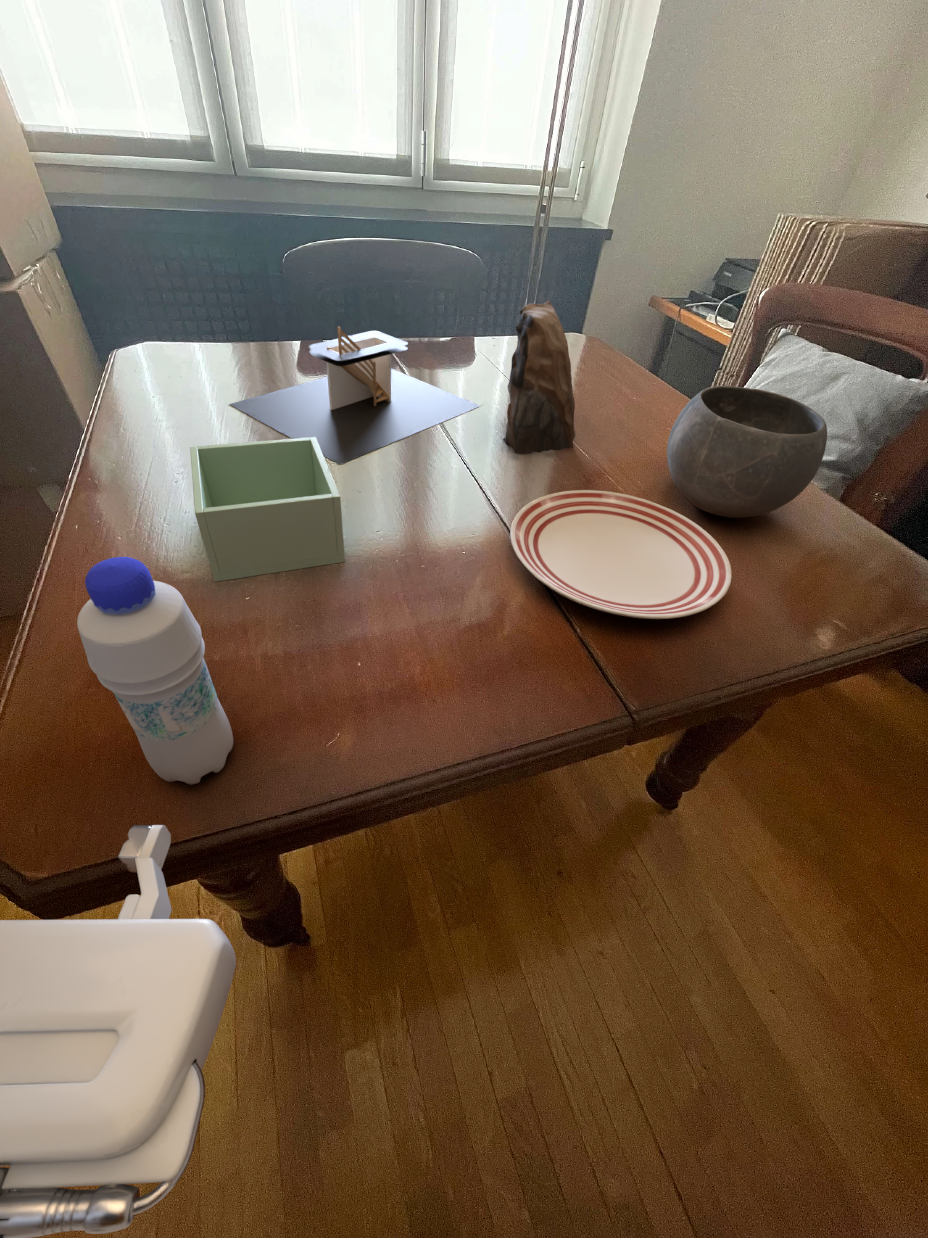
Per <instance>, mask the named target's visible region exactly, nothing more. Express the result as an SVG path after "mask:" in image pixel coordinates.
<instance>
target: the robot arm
mask: <svg viewBox="0 0 928 1238" xmlns="http://www.w3.org/2000/svg"><path fill="white" fill-rule="evenodd" d="M127 837H128V839H127V840H126V841H125V842H124V843H122V847H121V849H120V851H119V854H118V856H117V857H118V859H119V860H120V862H121V863H122V864H125V868H126V869H127V870H128V871H129V873H137V878H138V883H139V888H140V889H139V890H140V895H139V894H135V893H134V894H128V895H127V896H126V897H125V899H124V902H123V904H122V907H121V909H120V912H119V913H118V917H117V918H113V919H112V918H111V919H109V918H108V919H107V918H105V919H104V918H103V919H101V918H99V919H90V918H89V919H88V918H87V919H85V918H84V919H0V1238H37V1237H43V1236H48V1235H53V1234H55V1233H56V1234H58V1233H63V1232H71V1231H73V1232H78V1231H79V1232H81V1231H84V1233H85V1234H92V1235H94V1234H95V1235H101V1234H102V1235H103V1234H109V1233H114V1232H119V1231H121V1230H124V1229H127V1228H128V1227H130V1225H131V1223H132V1222H133V1221H134V1218H135V1215H137V1214H141V1213H143V1212H146V1211H148V1210H150V1209H151V1208H152V1207H153V1206H155V1205H156V1204H158V1203H159V1202H161V1201H162V1200H163V1199H164V1198H165V1197H166V1196H167V1195H168V1194H169V1193H170V1192H171V1191H172V1190H173V1189H174V1187H175V1186H176V1184H177V1183H178V1182H179V1180H180V1179H181V1178H182V1176H183V1174H184V1172H185V1171H186V1168H187V1166H188V1164H189V1162H190V1160H191V1157H192V1154H193V1152H194V1148H195V1144H196V1140H197V1135H198V1131H199V1126H200V1124H201V1123H200V1122H201V1119H202V1113H203V1109H204V1105H205V1099H206V1082H205V1078H204V1073H203V1069H204V1066H205V1064H206V1062H207V1059H208V1056H209V1053H210V1051H211V1048H212V1045H213V1042H214V1040H215V1037H216V1034H217V1032H218V1028H219V1025H220V1022H221V1019H222V1016H223V1013H224V1009H225V1007H226V1004H227V1000H228V996H229V993H230V990H231V987H232V983H233V979H234V975H235V970H236V967H237V966H236V965H237V958H236V957H237V956H236V953H235V949H234V948H233V945H232V943H231V942H230V939H229V938H228V936H227V935H226V933H225V932H224V931H223V930H222V929H221V927H220V926H219V925H218V923H217V922H215V921H214V920H212V919H209V918H170V917H171V914H172V912H173V911H172V910H173V909H172V905H171V901H170V896H169V893H168V888H167V884H166V880H165V876H164V872H163V871H162V869H163V866H164V863H165V860H166V858H167V856H168V852H169V849H170V847H171V842H172V834H171V833H170V831H169V829H168V827H167V826H166V825H165V824H137V825H136V824H133V825H132V826H131V827H130V828H129V830H128V833H127ZM153 1183H154V1184H156V1183H158V1185H157V1186H156V1187H155V1188H153V1189H152V1190H151V1191H149V1192H147V1193H145V1194H143V1195H141V1191H140V1188H139V1187H138V1186H135V1184H153ZM132 1184H134V1185H132ZM90 1186H91V1187H92V1186H98V1187H97V1188H90V1189H89V1188H88V1189H83V1188H82V1189H75V1188H71V1187H90ZM69 1187H70V1188H69Z"/></svg>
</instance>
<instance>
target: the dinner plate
mask: <svg viewBox="0 0 928 1238" xmlns="http://www.w3.org/2000/svg"><path fill="white" fill-rule="evenodd" d="M509 536H510V537H509V538H510V542H511V546H512V549H513V551H514V553H515V555H516V557H517V558H518V560H519V561H520V562H521V564H522V565H523V566H524V568H526V570H527V571H528V572H529V573H530V574H531V575H532V576H533V577H534V578H536V579H537V580H538V581H539V582H540V583H542V584H543V585H544V586H546V587H547V588H549V589H550V590H552V591H554V592H555V593H557V594H558V595H560V596H562V597H564V598H565V599H566V598H567V599H568V600H570V601H573V602H574V603H577V604H579V605H582V606H585V607H588V608H590V609H594V610H596V611H598V612H599V611H600V612H603V613H607V614H611V615H616V616H621V617H627V618H632V619H633V618H635V619H643V620H669V619H677V618H684V617H689V616H693V615H695V614H698V613H702V612H703V611H706V610H707V609H710V608H711V607H712V606H715V605H716V604H717V603H719V601H721V600H722V599H723V597H724V596H725V595H726V594H727V592H728V590H729V588H730V586H731V582H732V567H731V563H730V560H729V558H728V556H727V554H726V552H725V550H723V548H722V546H720V544H719V543H718V541H716V539H715V538H714V537H713V536H712V535H711V534H710V533H708V532H707V530H705V529H703V527H701V526H700V525H698V524H697V523H696V522H694V521H693V520H691V519H689V518H688V517H686V516H685V515H683V514H681V513H679V512H677V511H675V510H673V509H671V508H668V507H666V506H664V505H661V504H658V503H656V502H653V501H651V500H648V499H644V498H641V497H637V496H634V495H630V494H626V493H621V492H614V491H606V490H594V489H593V490H592V489H578V490H577V489H575V490H566V491H560V492H553V493H550V494H547V495H544V496H543V495H542V496H540V497H538V498H535V499H534V500H532V501H530V502H528V503H527V504H526V505H524V506H523V507H522V508H520V510H519V511H518V512H517V513H516V515H514V517H513V520H512V522H511V525H510V531H509Z"/></svg>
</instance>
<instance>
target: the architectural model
mask: <svg viewBox="0 0 928 1238" xmlns="http://www.w3.org/2000/svg"><path fill="white" fill-rule="evenodd" d="M408 344H409V342H408V341H405V340H403V339H400V338H397V337H394V336H391V335H389V334H387V333H385V332H381V331H380V330H379V331H378V330H368V331H365V332H359V333H356V334H351V335H347V334H346V333H345V332H344V331H343V330H342V329H341V327H340V326H337V338H333V339H329V340H325V341H321V342H316V343H312V344H310V345H308V348H309V349H310V350H309V353H310V354H311V355H312V356H313V357H315V358H317V359H319V360H322V361H324V362H325V363H326V373H327V376H324V377H320V378H317V379H314V380H310V381H306V382H303V383H299V384H296V385H292V386H289V387H285V388H281V389H277V390H275V391H270V392H267V393H264V394H259V395H257V396H253V397H249V398H246V399H242V400H238V401H235V402H232V403H229V405H230V406H232V407H233V408H235V409H237V410H239V411H241V412H243V413H245V414H246V415H248V416H250V417H252V418H254V419H256V420H257V421H259V422H260V423H263V424H264V425H266V426H268V427H270V428H272V429H274V430H275V431H277V432H279V433H281V434H283V435H285V436H287V437H288V438H289V439H295V438H307V437H309V438H310V437H316V439H317V442H318V444H319V446H320V449H321V451H322V454H323V456H324V458H326V459H328V460H330V461H332V462H334V463H335V464H337V465H342V464H345V463H347V462H349V461H352V460H355V459H357V458H360V457H362V456H364V455H366V454H368V453H372V452H374V451H377V450H378V449H380V448H383V447H386V446H388V445H391V444H393V443H395V442H398V441H400V440H402V439H405V438H408V437H410V436H412V435H415V434H417V433H419V432H422V431H424V430H426V429H429V428H431V427H433V426H436V425H440V424H441V423H444V422H446V421H448V420H450V419H454V418H455V417H456V418H457V417H458V416H460V415H463V414H465V413H468V412H470V411H472V410H475V409H478V408H479V407H481V405H480V404H478V403H476V402H473V401H471V400H468V399H466V398H463V397H461V396H459V395H456V394H455V393H451V392H450V391H446V390H444V389H442V388H440V387H437V386H434V385H432V384H429V383H427V382H425V381H423V380H421V379H419V378H415V377H413V376H410V375H409V374H406V373H403V372H401V371H399V370H396V369H394V368H392V354H396V353H399V352H403V351H407V350H409V347H407V345H408Z"/></svg>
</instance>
